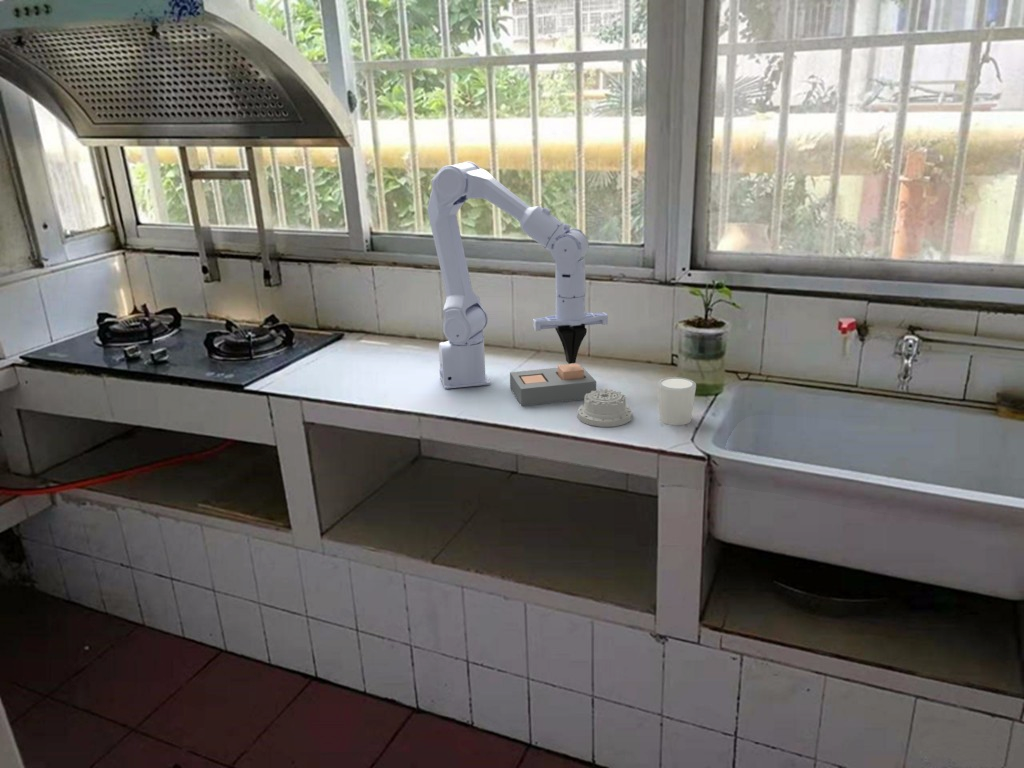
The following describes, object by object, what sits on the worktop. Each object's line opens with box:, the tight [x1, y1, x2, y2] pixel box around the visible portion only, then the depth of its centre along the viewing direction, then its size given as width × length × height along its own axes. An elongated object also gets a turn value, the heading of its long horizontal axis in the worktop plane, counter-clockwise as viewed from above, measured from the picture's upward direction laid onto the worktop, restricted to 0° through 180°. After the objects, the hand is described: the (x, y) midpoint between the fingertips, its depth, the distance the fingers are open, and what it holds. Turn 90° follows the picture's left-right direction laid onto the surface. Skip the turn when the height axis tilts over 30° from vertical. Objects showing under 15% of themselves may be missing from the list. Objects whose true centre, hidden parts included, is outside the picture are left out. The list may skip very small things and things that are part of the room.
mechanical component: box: [577, 388, 633, 428], centre depth 146 cm, size 10×4×10 cm
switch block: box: [509, 364, 597, 407], centre depth 158 cm, size 15×10×4 cm, turn 102°
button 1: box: [521, 375, 546, 384], centre depth 157 cm, size 4×4×3 cm
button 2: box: [557, 363, 584, 380], centre depth 158 cm, size 4×4×3 cm
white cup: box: [657, 376, 697, 426], centre depth 143 cm, size 7×7×7 cm
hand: (570, 361), depth 157 cm, fingers closed
